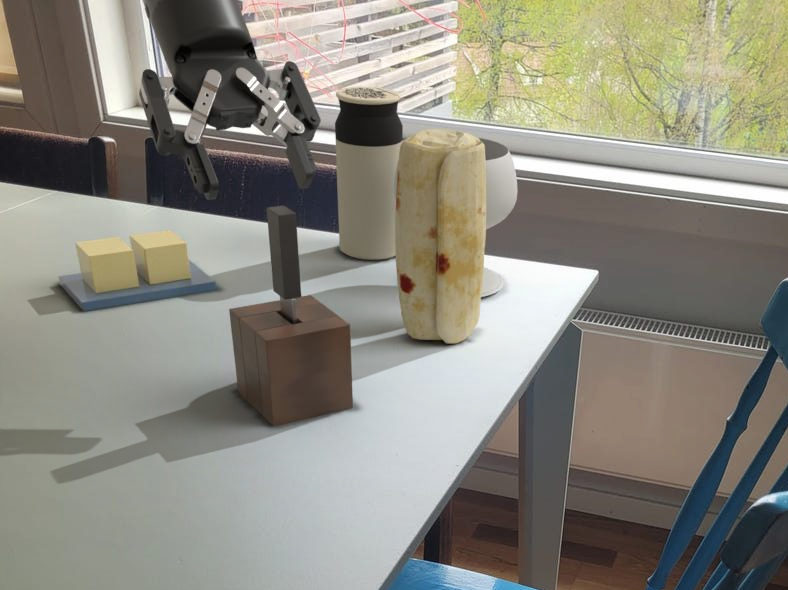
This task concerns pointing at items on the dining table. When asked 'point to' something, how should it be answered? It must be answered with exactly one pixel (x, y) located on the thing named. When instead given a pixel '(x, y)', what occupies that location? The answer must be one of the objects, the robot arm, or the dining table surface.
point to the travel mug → (367, 170)
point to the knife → (284, 259)
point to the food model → (440, 233)
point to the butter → (133, 271)
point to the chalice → (494, 198)
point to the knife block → (292, 360)
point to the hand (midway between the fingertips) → (261, 188)
